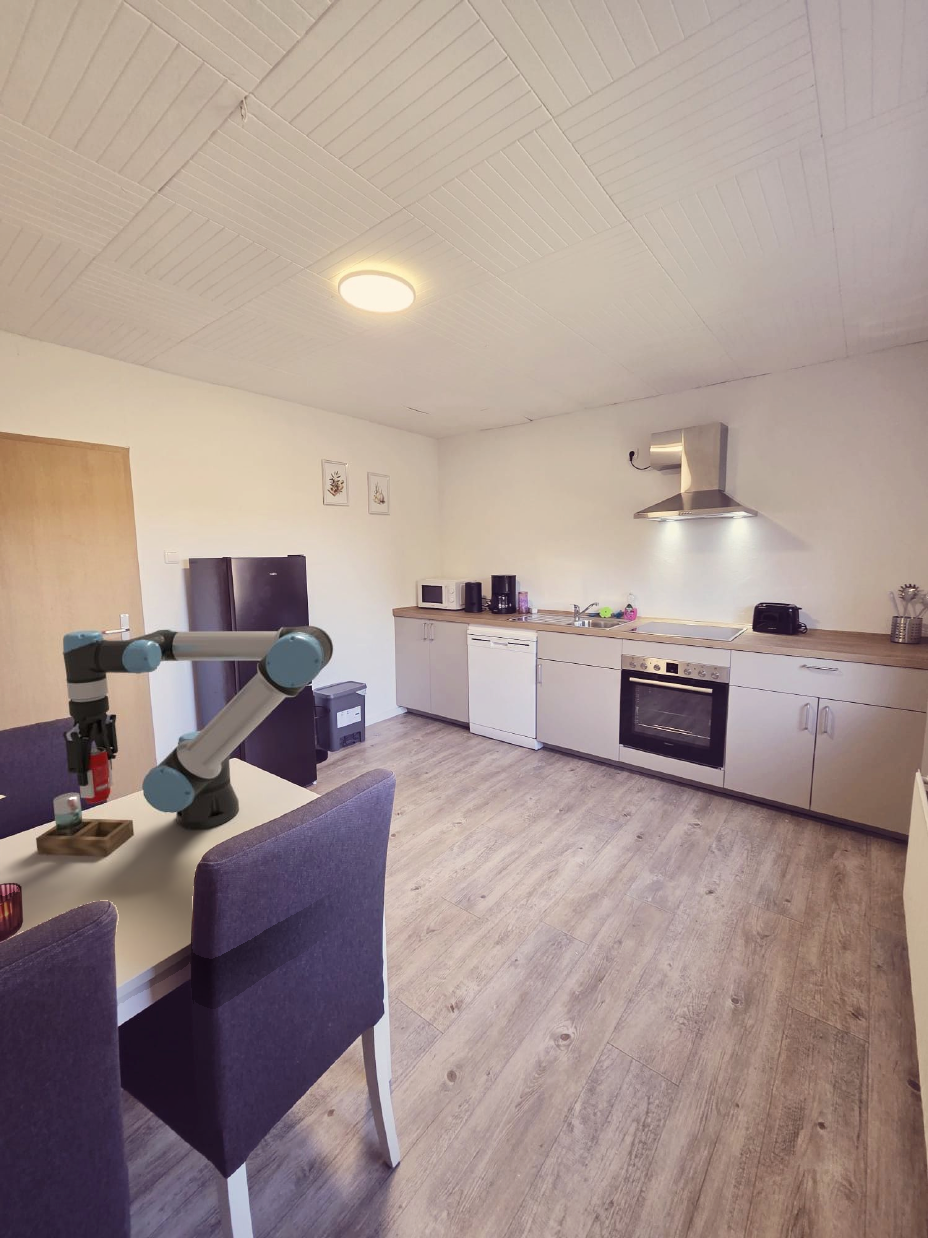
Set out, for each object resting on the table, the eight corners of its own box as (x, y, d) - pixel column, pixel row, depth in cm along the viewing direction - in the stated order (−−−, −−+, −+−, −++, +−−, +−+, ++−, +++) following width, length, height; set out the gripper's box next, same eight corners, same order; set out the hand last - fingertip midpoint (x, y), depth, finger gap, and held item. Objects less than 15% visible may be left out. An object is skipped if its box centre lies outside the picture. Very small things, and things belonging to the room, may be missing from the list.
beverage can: (86, 806, 119) (81, 757, 117) (82, 798, 123) (78, 751, 121) (113, 799, 123) (108, 751, 121) (108, 791, 126) (104, 745, 125)
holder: (133, 835, 128) (132, 820, 128) (107, 856, 120) (106, 840, 119) (68, 833, 129) (67, 818, 129) (37, 854, 120) (35, 838, 120)
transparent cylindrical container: (89, 838, 127) (85, 792, 125) (73, 850, 122) (68, 802, 120) (69, 837, 127) (64, 792, 125) (52, 849, 122) (47, 802, 120)
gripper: (101, 686, 128) (109, 774, 131) (39, 709, 110) (50, 810, 113) (130, 687, 128) (138, 775, 131) (72, 709, 110) (82, 811, 113)
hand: (97, 791), depth 122 cm, fingers closed on beverage can, 5 cm apart
